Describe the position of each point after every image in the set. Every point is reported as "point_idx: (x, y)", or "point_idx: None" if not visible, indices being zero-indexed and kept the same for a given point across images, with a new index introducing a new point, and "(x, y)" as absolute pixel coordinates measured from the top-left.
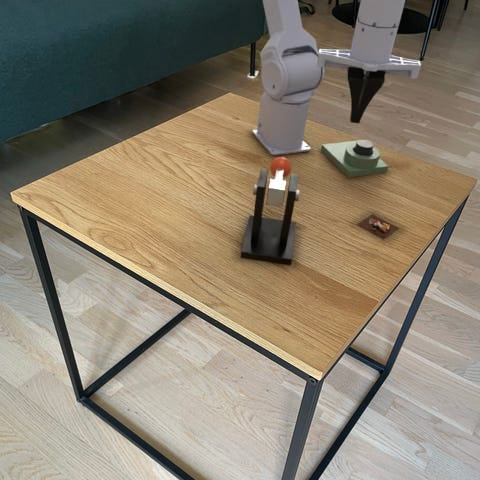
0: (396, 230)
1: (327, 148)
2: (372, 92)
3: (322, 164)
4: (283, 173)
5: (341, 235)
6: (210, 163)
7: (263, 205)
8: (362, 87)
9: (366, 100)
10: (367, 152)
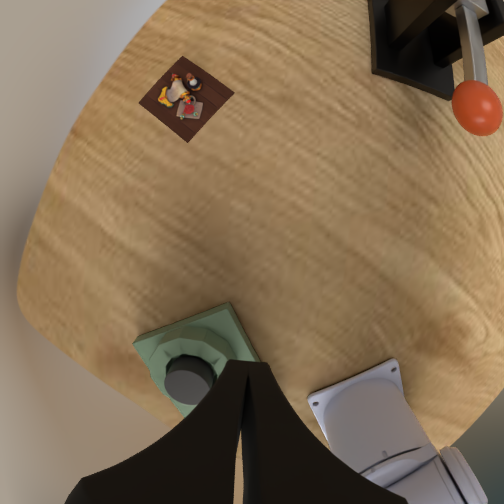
0: (147, 92)
1: None
2: (165, 461)
3: (287, 351)
4: (472, 57)
5: (274, 53)
6: (492, 297)
7: (459, 38)
8: (265, 496)
9: (206, 426)
10: (180, 362)
